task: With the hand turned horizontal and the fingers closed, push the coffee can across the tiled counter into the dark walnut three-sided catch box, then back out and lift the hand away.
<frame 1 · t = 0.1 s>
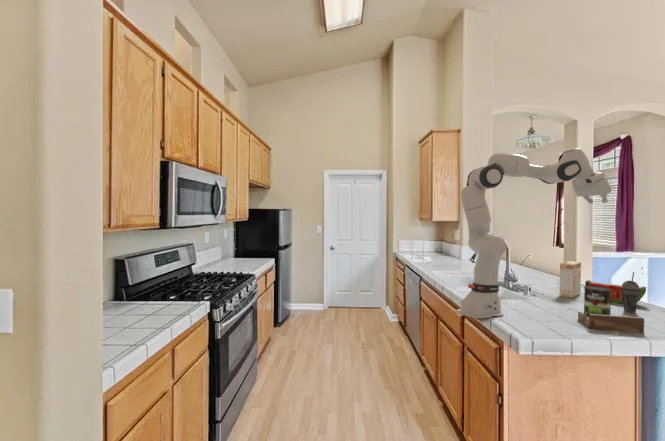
hand: (598, 202, 182), 54 cm above the table, tool tilted 30°, fingers open, 8 cm apart
coffeecake box: (570, 295, 219), on the table
fruit slice: (614, 302, 202), on the table
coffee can: (596, 318, 171), on the table
beverage cup: (629, 312, 181), on the table
catch box: (608, 325, 160), on the table
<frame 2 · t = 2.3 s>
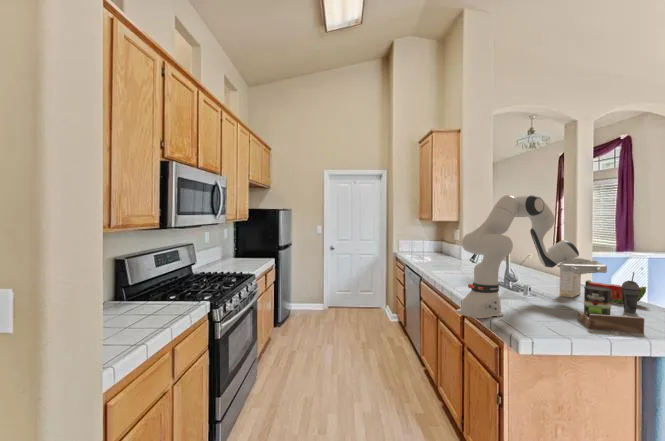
hand: (588, 270, 182), 20 cm above the table, tool horizontal, fingers open, 8 cm apart
nothing on the table moved.
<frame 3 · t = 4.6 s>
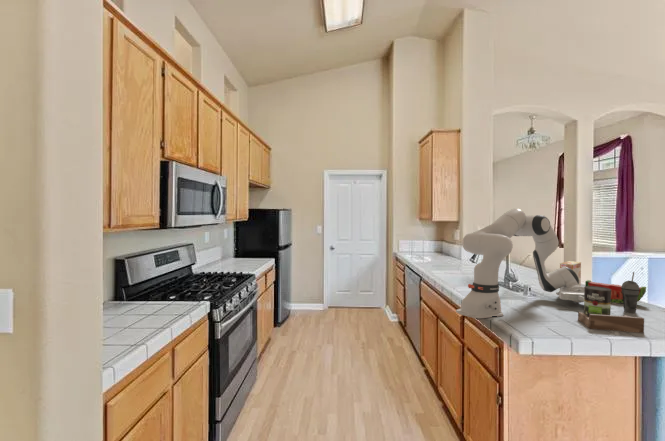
hand: (587, 299, 183), 6 cm above the table, tool horizontal, fingers closed
nothing on the table moved.
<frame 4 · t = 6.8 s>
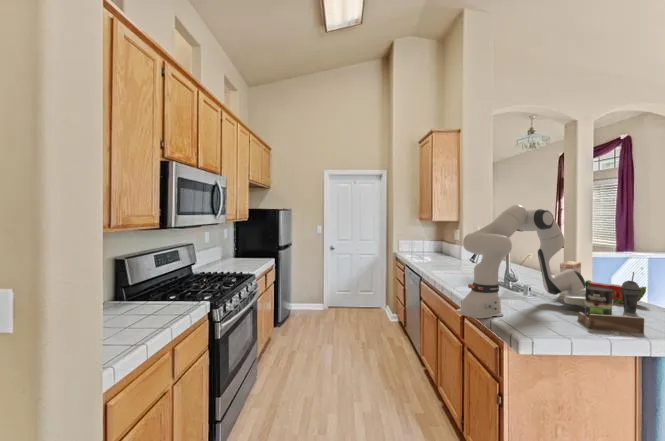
hand: (593, 304, 174), 5 cm above the table, tool horizontal, fingers closed, pressing on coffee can
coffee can: (598, 319, 170), on the table, touching gripper
everything else where it was.
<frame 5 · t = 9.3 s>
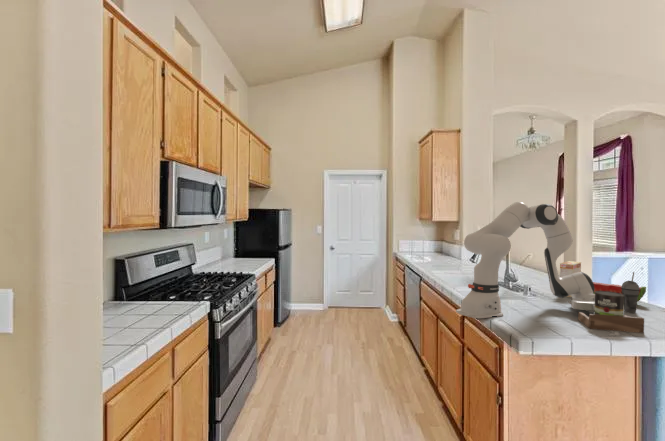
hand: (603, 310, 164), 5 cm above the table, tool horizontal, fingers closed, pressing on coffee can
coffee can: (608, 325, 160), on the table, touching gripper
everything else where it was.
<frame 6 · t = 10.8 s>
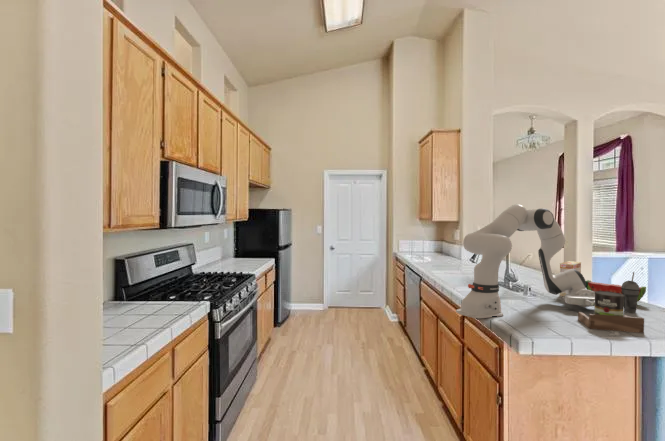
hand: (594, 304, 174), 6 cm above the table, tool horizontal, fingers closed
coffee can: (608, 325, 160), on the table
everything else where it was.
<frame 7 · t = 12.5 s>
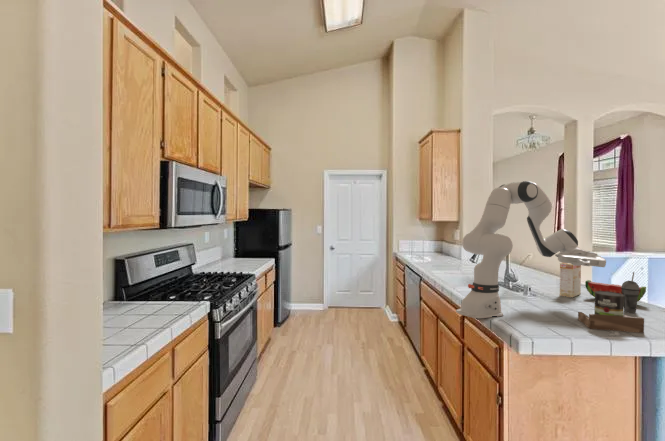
hand: (586, 264, 176), 24 cm above the table, tool horizontal, fingers closed
nothing on the table moved.
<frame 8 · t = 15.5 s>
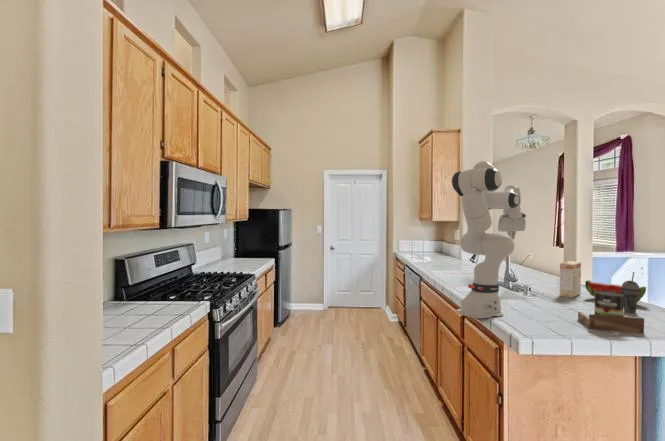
hand: (511, 239, 207), 34 cm above the table, tool pointing down, fingers closed
nothing on the table moved.
at the end: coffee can 0.2 cm from the catch box (horizontally); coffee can tilted 0°; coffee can moved 11.7 cm from its start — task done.
